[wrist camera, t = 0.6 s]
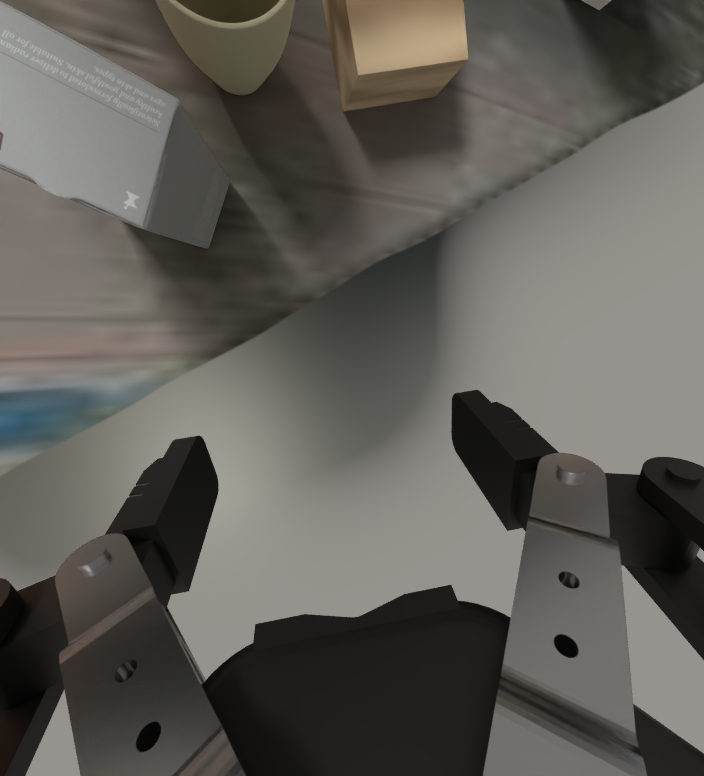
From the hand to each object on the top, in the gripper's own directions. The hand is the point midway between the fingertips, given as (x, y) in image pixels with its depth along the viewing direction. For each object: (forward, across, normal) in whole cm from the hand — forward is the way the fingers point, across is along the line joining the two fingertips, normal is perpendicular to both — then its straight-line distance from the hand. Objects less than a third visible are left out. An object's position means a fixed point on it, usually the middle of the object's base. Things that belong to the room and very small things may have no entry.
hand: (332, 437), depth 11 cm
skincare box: (+27, +11, -9) cm, 31 cm away
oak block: (+31, -9, -19) cm, 38 cm away
